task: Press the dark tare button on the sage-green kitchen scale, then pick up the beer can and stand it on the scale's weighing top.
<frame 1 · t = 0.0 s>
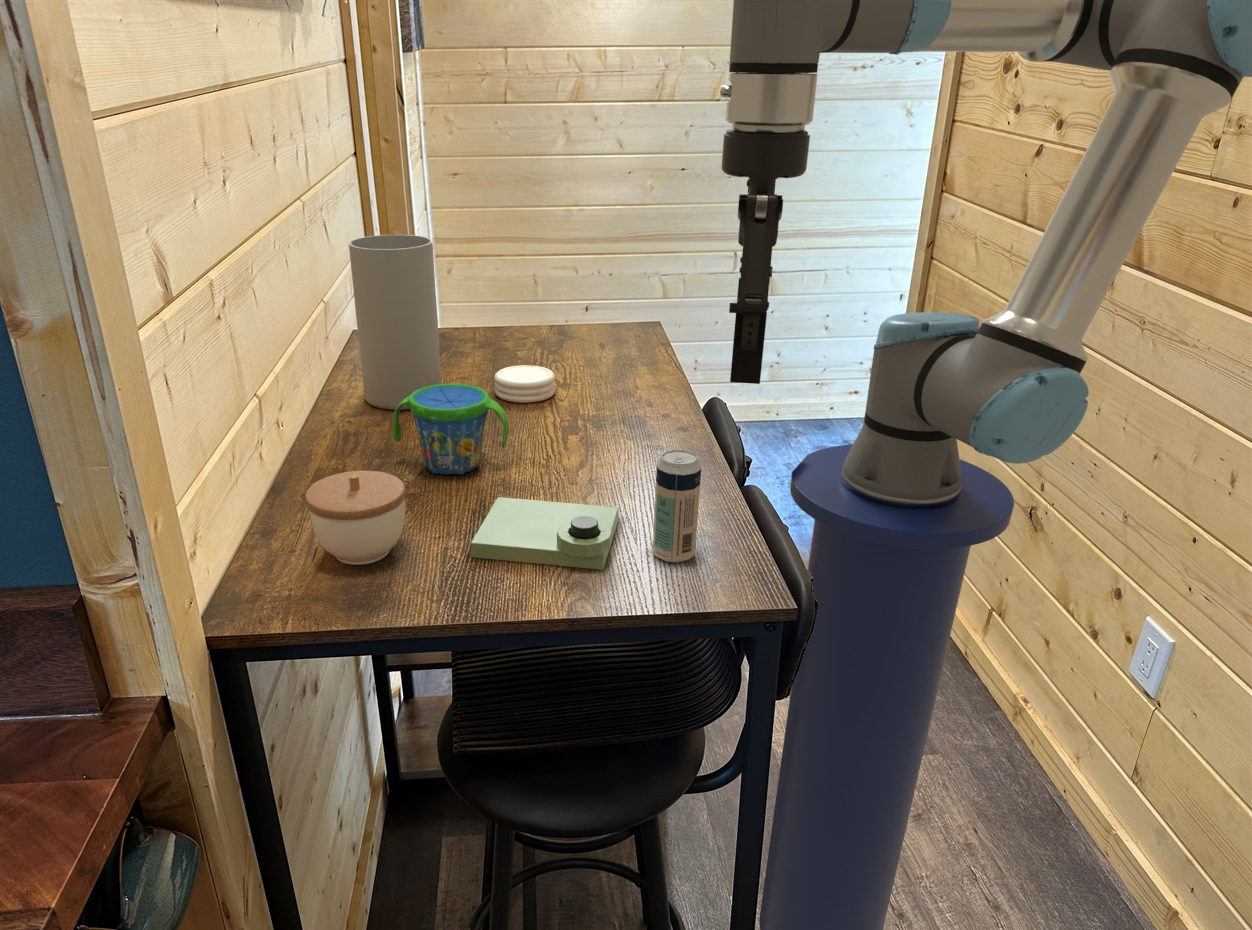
hand: (745, 360, 90), 24 cm above the table, tool pointing down, fingers open, 13 cm apart
scale: (547, 538, 106), on the table
snack cup: (452, 467, 125), on the table
beer can: (673, 556, 103), on the table
tare button: (584, 528, 100), point 4 cm above the table, slide at 0.1 cm
trinket box: (362, 553, 103), on the table
coaster: (525, 394, 152), on the table
cylinder vase: (403, 399, 149), on the table
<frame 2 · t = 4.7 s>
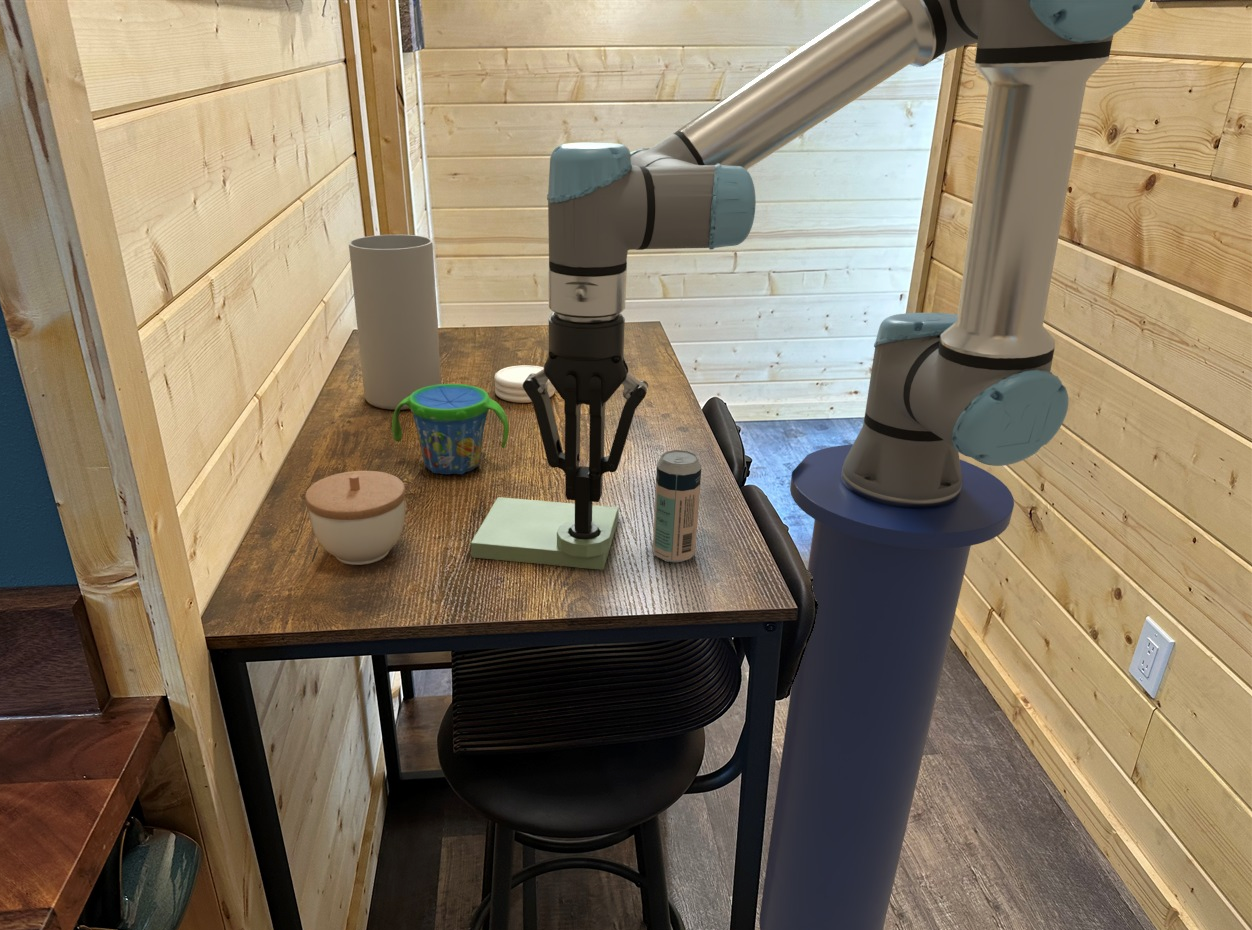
hand: (583, 525, 100), 4 cm above the table, tool pointing down, fingers closed
tare button: (584, 533, 101), point 3 cm above the table, slide at -0.6 cm, touching gripper
everything else where it was.
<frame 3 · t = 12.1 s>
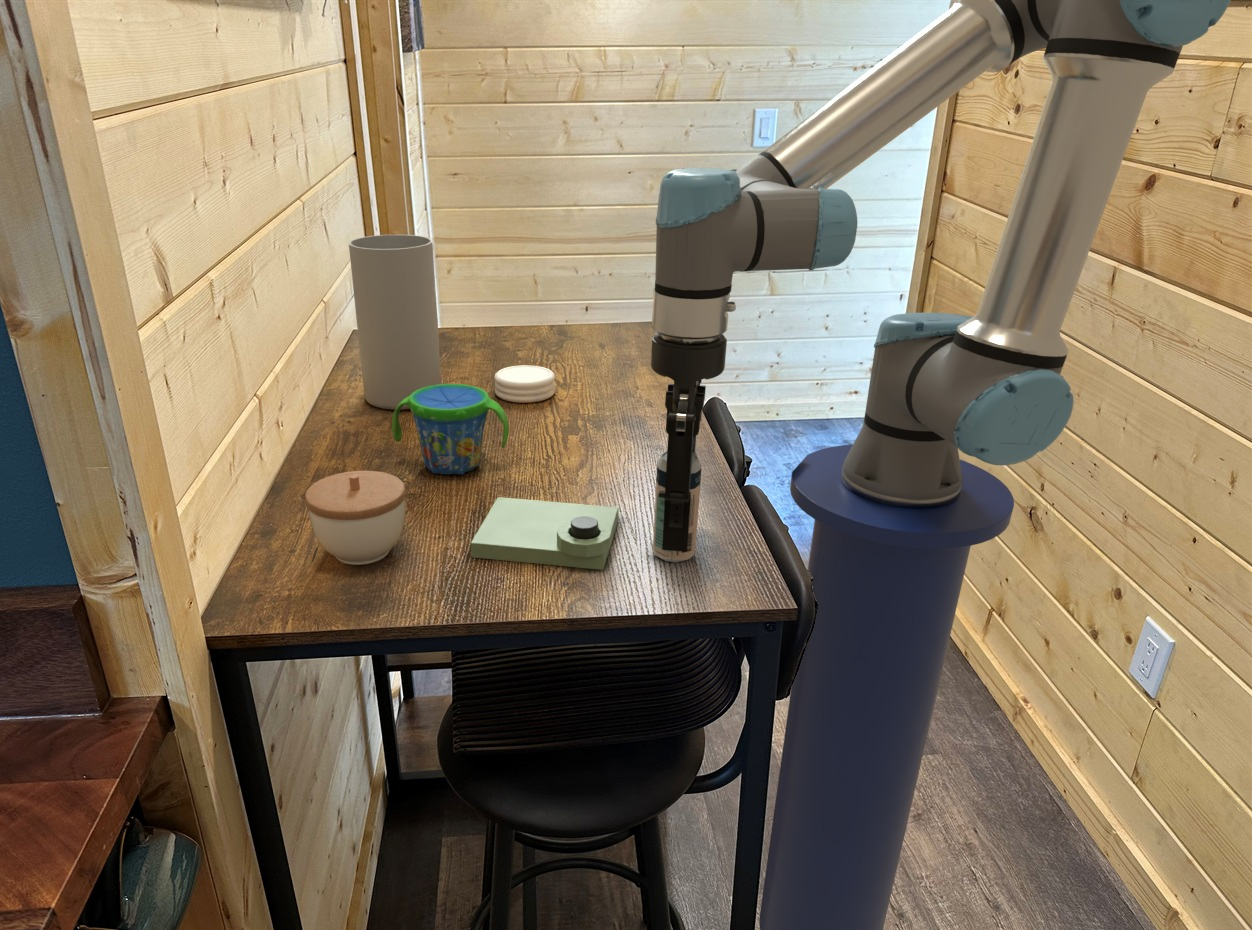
hand: (676, 537, 102), 2 cm above the table, tool pointing down, fingers closed on beer can, 5 cm apart
beer can: (673, 555, 103), on the table, touching gripper
tare button: (584, 528, 100), point 4 cm above the table, slide at 0.1 cm
everything else where it was.
when the fingers open (4 cm above the table, at t = 18.5 s): beer can stays where it is, resting on scale.
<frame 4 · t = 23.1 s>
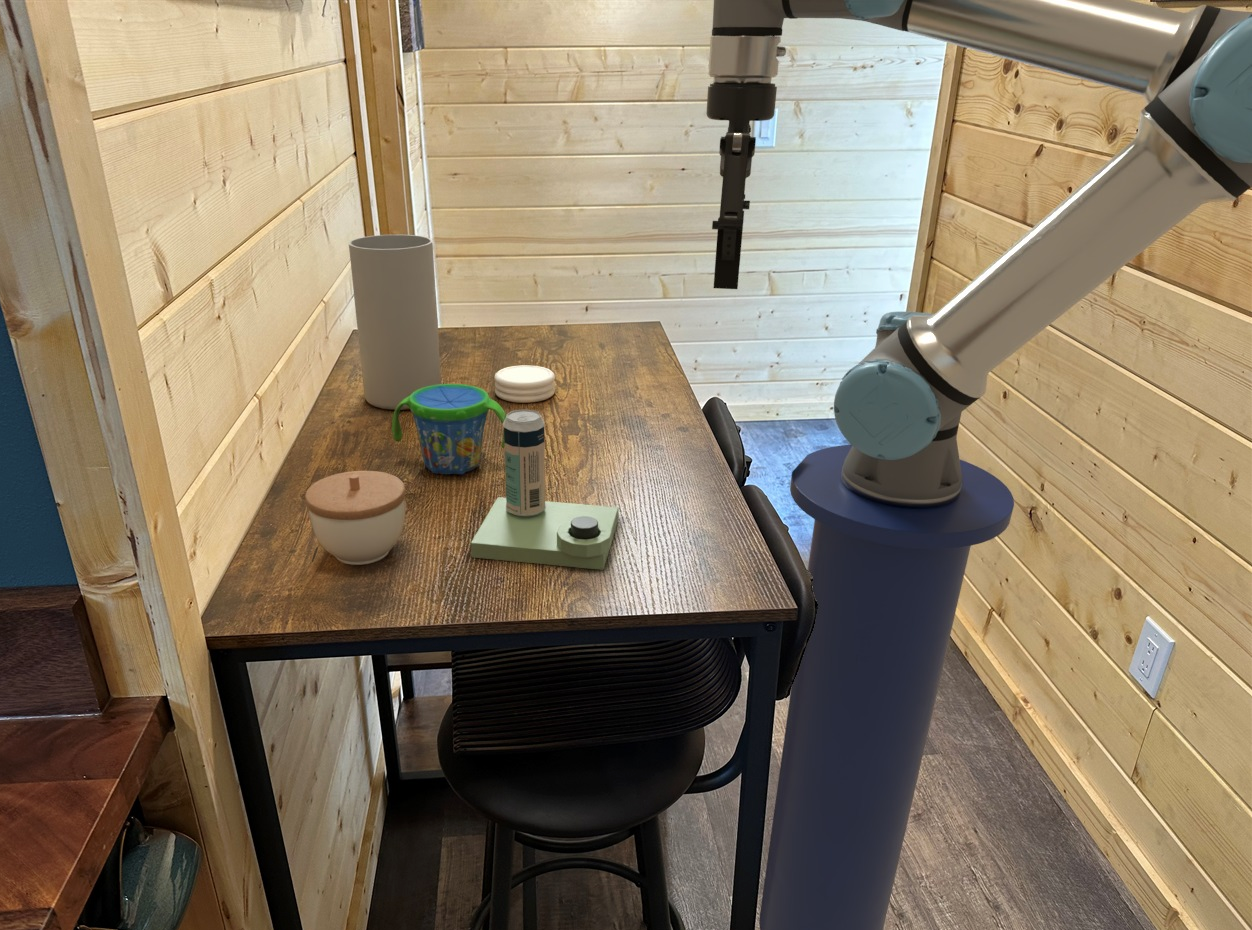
hand: (727, 275, 110), 27 cm above the table, tool pointing down, fingers open, 13 cm apart
beer can: (525, 511, 109), point 2 cm above the table, touching scale
everything else where it was.
at the end: tare button pushed in 0.8 cm at the most during the clip, back to where it started at the end; beer can inside the target area on the scale (4.2 cm from its centre), point 1.7 cm above the scale's base; beer can touching scale; beer can tilted 0° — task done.
